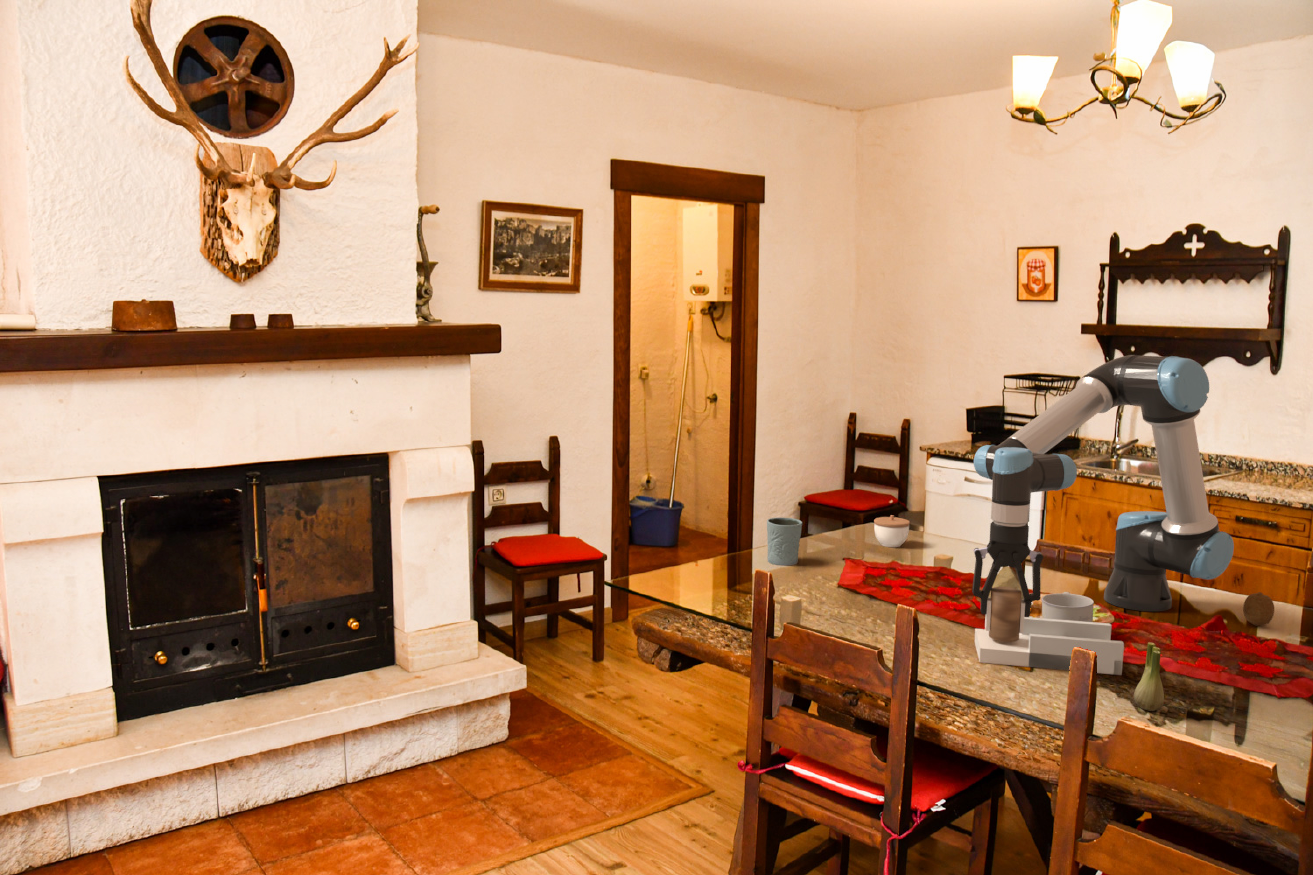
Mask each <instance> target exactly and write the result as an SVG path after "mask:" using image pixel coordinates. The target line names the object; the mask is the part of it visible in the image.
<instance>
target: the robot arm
mask: <svg viewBox="0 0 1313 875" xmlns="http://www.w3.org/2000/svg"><path fill="white" fill-rule="evenodd" d="M1209 381H1210V380H1209V377H1208V375H1207V373H1206V370H1205V369H1204V367H1203V366H1202V365H1201V363H1199V362H1197V361H1196V360H1193V359H1192V358H1187V357H1180V356H1177V355H1175V356H1173V355H1171V356H1160V355H1159V356H1157V355H1156V356H1155V355H1140V354H1128V355H1123V356H1119V357H1117V358H1115V359H1111V360H1109V361H1107V362H1105V363H1103V364H1101V365H1099V366H1098V367H1096V368H1094V369H1093V370H1091V371H1089V372H1088V373H1086V374H1085V375H1084V376H1082V377H1081V378H1079V379H1078V380H1077V382H1076V384H1075V388H1073V389H1072V390H1071V391H1069V392H1068V393H1067V394H1066V395H1064V396H1062V398H1060V399H1059V400H1058V401H1056V402H1055V403H1054V404H1052V405H1051V406H1049V407H1048V408H1046V409H1045V410H1044V411H1043V412H1041V413H1040V414H1039V415H1038V416H1036V417H1035V418H1033V419H1032V420H1030V421H1029V422H1028V423H1026V424H1025V425H1023V426H1022V427H1021V428H1020V429H1019V430H1017V431H1015V432H1014V433H1013V434H1012V435H1010V436H1009V437H1007V438H1006V439H1005V440H1004V441H1002V442H1000V444H998V445H996V444H991V445H989V444H986V445H983V446H981V447H979V448H978V449H977V451H976V452H975V455H974V458H973V468H974V470H975V472H976V473H977V474H978V475H979V476H980V477H983V478H985V479H989V480H991V481H992V490H991V508H990V519H991V520H992V521H991V523H989V525H990V526H989V527H990V528H989V541H988V544H987V546H986V547H982V548H979V547H975V548H974V549H973V553H974V557H975V562H974V572H973V581H972V591H971V592H972V594H973V596H974V597H978V598H980V609H979V610H980V612H981V615H984V616H985V618H984V619H985V620H984V629H986V631H990V618H991V598H990V597H988V596H989V594H990V591H991V589H992V586H993V584H994V581H995V579H996V576H997V574H998V573H999V571H1000V570H1001V569H1002V568H1003V567H1007V566H1008V567H1010V568H1011V569H1013V568H1014V569H1015V571H1016V572H1015V573H1016V575H1017V576H1018V579H1019V583H1020V586H1021V590H1022V594H1023V597H1024V600H1021V611H1020V630H1019V633H1022V634H1023V633H1024V617H1031V616H1030V615H1031V611H1030V605H1031V606H1032V602H1035V601H1040V600H1041V599H1042V597H1041V564H1042V562H1043V559H1044V555H1043V554H1042V552H1041V551H1034V550H1031V548H1030V547H1029V534H1030V533H1029V531H1030V530H1029V529H1030V526H1029V524H1028V523H1029V522H1030V512H1031V509H1030V508H1031V496H1032V493H1039V492H1051V491H1055V492H1056V491H1057V492H1058V491H1060V490H1063V489H1068V488H1070V487H1072V485H1074V483H1075V482H1076V479H1077V473H1078V471H1077V470H1078V468H1077V466H1076V463H1075V461H1074V460H1073V459H1072V458H1071V457H1070V456H1069V455H1066V454H1065V453H1063V454H1061V453H1060V454H1059V453H1052V454H1046V453H1047V452H1048V451H1050V450H1051V449H1053V448H1054V447H1055V446H1056V445H1058V444H1059V443H1060V442H1061V441H1063V440H1064V439H1065V438H1067V437H1068V436H1070V435H1071V434H1072V433H1073V432H1074V431H1076V430H1077V429H1078V428H1080V427H1081V426H1083V425H1084V424H1085V423H1086V422H1088V421H1090V419H1092V418H1094V416H1096V415H1097V414H1104V413H1106V412H1108V411H1109V410H1111V409H1112V408H1114V407H1119V406H1132V407H1134V406H1135V407H1140V412H1141V415H1142V420H1143V421H1144V422H1145V423H1147V424H1149V425H1151V430H1152V431H1151V432H1152V436H1153V441H1154V445H1155V446H1154V447H1155V452H1156V458H1157V466H1158V470H1159V475H1160V476H1159V477H1160V481H1161V488H1162V494H1163V501H1164V505H1165V510H1166V512H1165V511H1154V510H1153V511H1152V510H1151V511H1150V510H1148V511H1147V510H1145V511H1141V510H1139V511H1138V510H1137V511H1129V512H1123V513H1121V514H1120V515H1119V516H1118V519H1117V524H1116V528H1115V544H1114V548H1115V549H1114V564H1113V571H1112V573H1111V575H1110V577H1109V579H1108V581H1107V584H1106V585H1105V588H1104V594H1103V600H1104V601H1105V602H1106V603H1108V604H1110V605H1113V606H1116V607H1118V608H1121V609H1122V608H1123V609H1127V610H1133V611H1139V612H1164V611H1169V610H1170V609H1172V603H1173V601H1172V600H1173V598H1172V594H1171V591H1170V587H1169V583H1168V579H1167V570H1168V571H1171V572H1176V573H1179V574H1183V575H1186V576H1187V575H1188V576H1189V577H1191V578H1194V579H1196V578H1197V579H1202V580H1208V581H1209V580H1214V579H1217V578H1218V577H1219V576H1221V575H1222V574H1223V573H1224V572H1225V571H1226V569H1227V568H1228V567H1229V565H1230V563H1231V560H1232V558H1233V557H1234V556H1233V555H1234V548H1235V545H1234V539H1233V537H1232V535H1231V534H1229V533H1227V532H1226V531H1220V527H1219V521H1218V518H1217V517H1216V515H1214V514H1213V513H1211V512H1210V511H1209V506H1208V498H1207V493H1206V486H1205V481H1204V473H1203V468H1202V462H1201V461H1202V460H1201V454H1200V451H1199V450H1200V449H1199V448H1200V447H1199V443H1198V436H1197V430H1196V424H1195V419H1196V418H1197V417H1198V416H1199V415H1200V414H1201V409H1202V408H1203V407H1204V406H1205V404H1206V403H1207V401H1208V399H1209V397H1208V395H1207V394H1209V393H1210V382H1209ZM987 554H989V556H990V557H991V559H992V560H993V561H992V563H991V568H990V570H989V572H988V574H987V577H986V579H985V582H984V585H983V587H982V590H981V580H982V573H983V565H984V564H983V563H984V559H986V555H987ZM1028 556H1029V559H1030V561H1031V564H1032V565H1031V566H1032V570H1031V571H1032V574H1031V575H1032V577H1031V578H1032V593H1030V591H1029V587H1028V584H1027V581H1026V577H1025V573H1024V569H1023V566H1022V563H1023V562H1024V561H1025V560H1026V559H1027V558H1028Z"/></svg>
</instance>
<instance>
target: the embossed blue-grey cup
mask: <svg viewBox="0 0 1313 875" xmlns="http://www.w3.org/2000/svg"><path fill="white" fill-rule="evenodd" d="M802 526H803V521H801V520H800V519H797V518H793V517H782V516H781V517H780V516H779V517H770V518H768V519H767V520H766V531H767V534H766V536H767V544H766V545H767V562H768V563H769V564H772V565H775V566H785V567H786V566H794V565H797V563H798V561H799V551H800V541H801V535H802Z"/></svg>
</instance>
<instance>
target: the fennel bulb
mask: <svg viewBox="0 0 1313 875" xmlns="http://www.w3.org/2000/svg"><path fill="white" fill-rule="evenodd" d="M1146 645H1147V646H1146V657H1145V665H1144V666H1145V667H1144V671H1143V674H1142V675H1141V678H1140V681H1139V682H1138V684H1137V686H1136V687H1135V689H1134V692H1133V699H1134V702H1135V704H1136V705H1137V707H1139V708H1140V709H1142V710H1145V711H1150V712H1155V711H1158V710H1159V711H1160V710H1161V709H1162V708H1163V706H1164V702H1165V701H1164V700H1165V694H1164V693H1165V692H1164V687H1163V683H1162V679H1161V676H1160V665H1161V664H1160V662H1161V651H1162V650H1161V649H1160V648H1159V647H1157V646H1156V643H1154V642H1147V644H1146Z"/></svg>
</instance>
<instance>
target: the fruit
mask: <svg viewBox="0 0 1313 875" xmlns="http://www.w3.org/2000/svg"><path fill="white" fill-rule="evenodd" d="M1242 610H1243V611H1242V612H1243V615H1244V617H1245V619H1246V621H1248V623H1250V624H1252V625H1253V626H1254V627H1262V626H1265V625H1267V624H1269V623H1270V622H1271V621H1272V619H1273V617H1274V614H1275V605H1274V602H1273V600H1272V598H1271V596H1268V595H1265V594H1264V593H1262V592H1260V591H1259V592H1257V593H1251V594H1249V595H1248V596H1247V597H1246V598H1245V600H1244V602H1243V607H1242Z"/></svg>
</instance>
